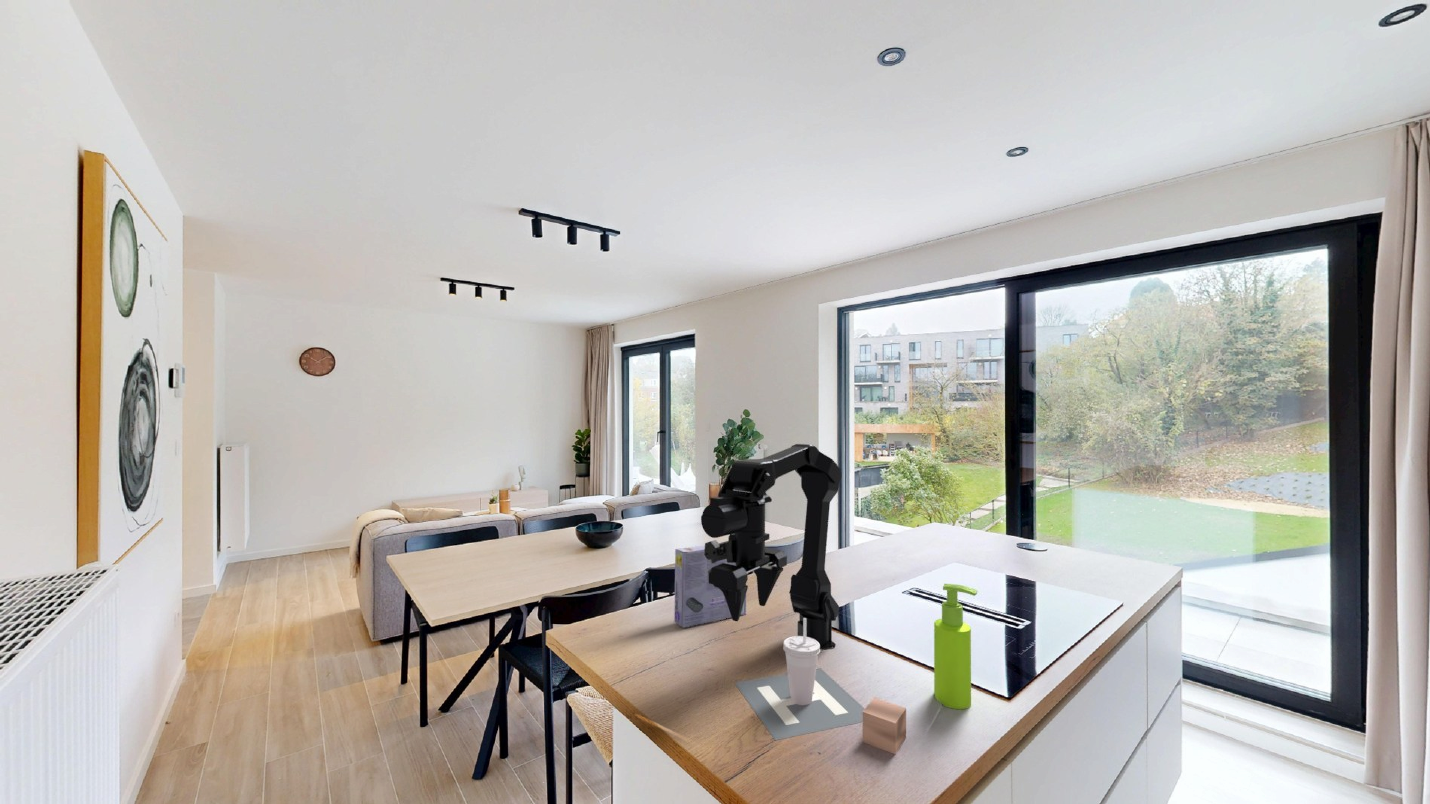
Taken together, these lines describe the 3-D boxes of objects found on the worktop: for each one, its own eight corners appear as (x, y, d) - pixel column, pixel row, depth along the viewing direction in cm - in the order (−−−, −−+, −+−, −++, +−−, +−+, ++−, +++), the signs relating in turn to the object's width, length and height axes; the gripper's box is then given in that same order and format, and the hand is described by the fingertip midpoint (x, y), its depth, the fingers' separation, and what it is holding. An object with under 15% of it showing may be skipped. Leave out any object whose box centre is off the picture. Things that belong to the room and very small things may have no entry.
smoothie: (820, 711, 89) (820, 627, 89) (781, 707, 90) (781, 624, 90) (820, 691, 95) (820, 612, 95) (783, 688, 96) (784, 610, 96)
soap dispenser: (975, 715, 88) (975, 594, 89) (931, 702, 92) (931, 587, 92) (979, 699, 93) (979, 584, 94) (937, 687, 97) (937, 578, 97)
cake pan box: (739, 607, 136) (740, 538, 137) (751, 614, 132) (751, 542, 132) (672, 622, 126) (673, 548, 127) (682, 630, 122) (682, 553, 122)
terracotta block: (874, 729, 85) (874, 697, 85) (906, 740, 82) (906, 708, 82) (862, 744, 81) (862, 711, 81) (895, 757, 78) (895, 723, 78)
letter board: (820, 670, 104) (820, 668, 104) (876, 721, 86) (876, 719, 87) (734, 684, 98) (734, 682, 98) (775, 742, 81) (775, 740, 81)
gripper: (741, 515, 111) (740, 590, 111) (684, 531, 96) (683, 618, 96) (788, 522, 105) (788, 602, 104) (735, 540, 90) (734, 633, 89)
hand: (749, 612), depth 99 cm, fingers open, 9 cm apart
